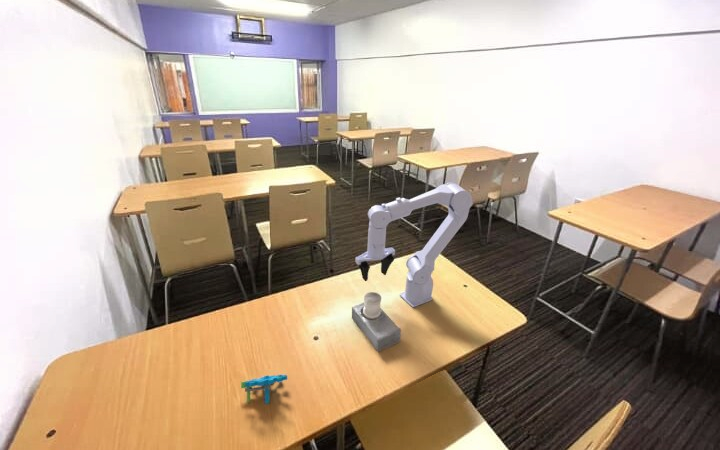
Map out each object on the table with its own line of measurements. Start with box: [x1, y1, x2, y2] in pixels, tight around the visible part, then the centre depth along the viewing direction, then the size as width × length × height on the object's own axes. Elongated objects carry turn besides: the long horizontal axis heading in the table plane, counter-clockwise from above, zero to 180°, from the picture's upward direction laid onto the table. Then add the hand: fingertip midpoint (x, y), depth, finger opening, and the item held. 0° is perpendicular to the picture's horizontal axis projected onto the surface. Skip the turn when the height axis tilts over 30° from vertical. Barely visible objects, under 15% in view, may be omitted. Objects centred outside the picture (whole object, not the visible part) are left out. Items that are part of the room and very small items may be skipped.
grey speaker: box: [351, 302, 402, 352], centre depth 94 cm, size 8×16×5 cm, turn 30°
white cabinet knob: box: [363, 291, 382, 319], centre depth 94 cm, size 6×6×6 cm
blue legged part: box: [240, 374, 288, 404], centre depth 73 cm, size 11×6×10 cm
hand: (374, 276), depth 104 cm, fingers open, 7 cm apart
